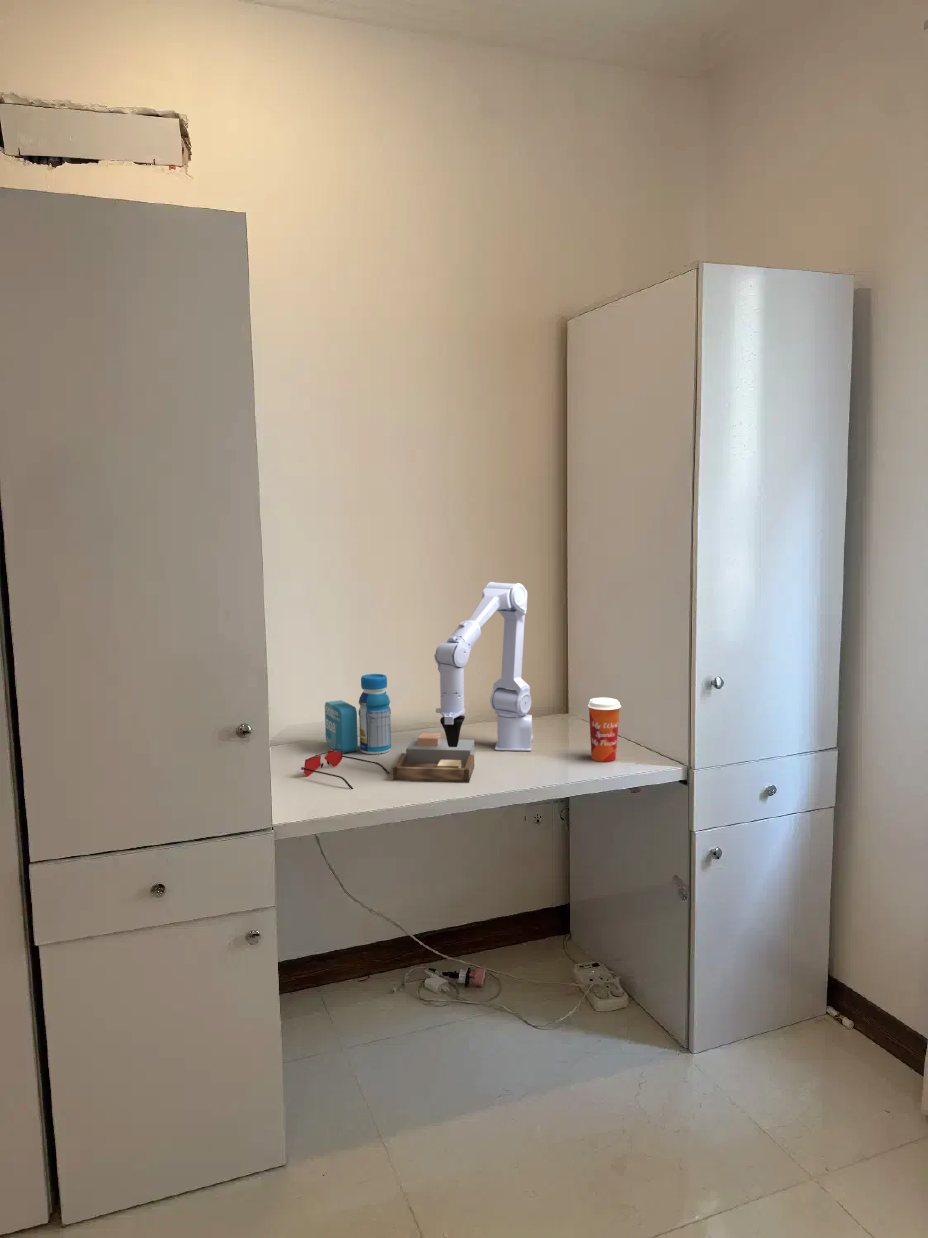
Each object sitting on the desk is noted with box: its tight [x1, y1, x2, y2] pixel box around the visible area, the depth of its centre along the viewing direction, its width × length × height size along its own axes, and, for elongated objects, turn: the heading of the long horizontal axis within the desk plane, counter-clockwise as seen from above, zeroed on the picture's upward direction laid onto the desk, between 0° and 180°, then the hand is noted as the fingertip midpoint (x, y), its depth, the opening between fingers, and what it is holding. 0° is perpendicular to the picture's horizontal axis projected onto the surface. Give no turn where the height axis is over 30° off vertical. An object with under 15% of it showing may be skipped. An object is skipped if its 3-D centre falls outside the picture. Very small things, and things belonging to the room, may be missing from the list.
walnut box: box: [392, 752, 475, 783], centre depth 211 cm, size 18×12×3 cm
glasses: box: [300, 749, 391, 790], centre depth 210 cm, size 14×16×5 cm
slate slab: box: [405, 738, 475, 764], centre depth 222 cm, size 16×10×4 cm, turn 84°
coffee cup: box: [587, 697, 622, 763], centre depth 221 cm, size 8×8×15 cm
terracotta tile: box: [417, 732, 441, 746], centre depth 222 cm, size 5×5×2 cm
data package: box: [324, 699, 359, 754], centre depth 233 cm, size 12×4×12 cm, turn 30°
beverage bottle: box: [358, 673, 392, 755], centre depth 230 cm, size 8×8×20 cm
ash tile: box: [437, 760, 461, 768], centre depth 211 cm, size 5×5×2 cm
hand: (452, 746), depth 214 cm, fingers closed
